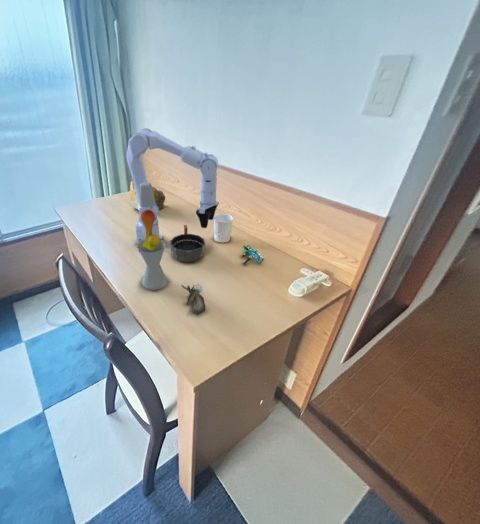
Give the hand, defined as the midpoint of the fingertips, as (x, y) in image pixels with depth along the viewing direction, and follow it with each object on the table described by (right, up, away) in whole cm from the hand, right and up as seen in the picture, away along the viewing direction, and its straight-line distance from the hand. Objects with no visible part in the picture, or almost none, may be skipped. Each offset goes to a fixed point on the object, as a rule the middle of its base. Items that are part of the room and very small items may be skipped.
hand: (207, 223), depth 112 cm
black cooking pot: (-8, -11, +1) cm, 14 cm away
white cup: (+8, -6, +10) cm, 13 cm away
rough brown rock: (-26, +13, +40) cm, 49 cm away
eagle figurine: (-7, -29, -24) cm, 38 cm away
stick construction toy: (+15, -15, -4) cm, 22 cm away
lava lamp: (-20, -23, -14) cm, 33 cm away
